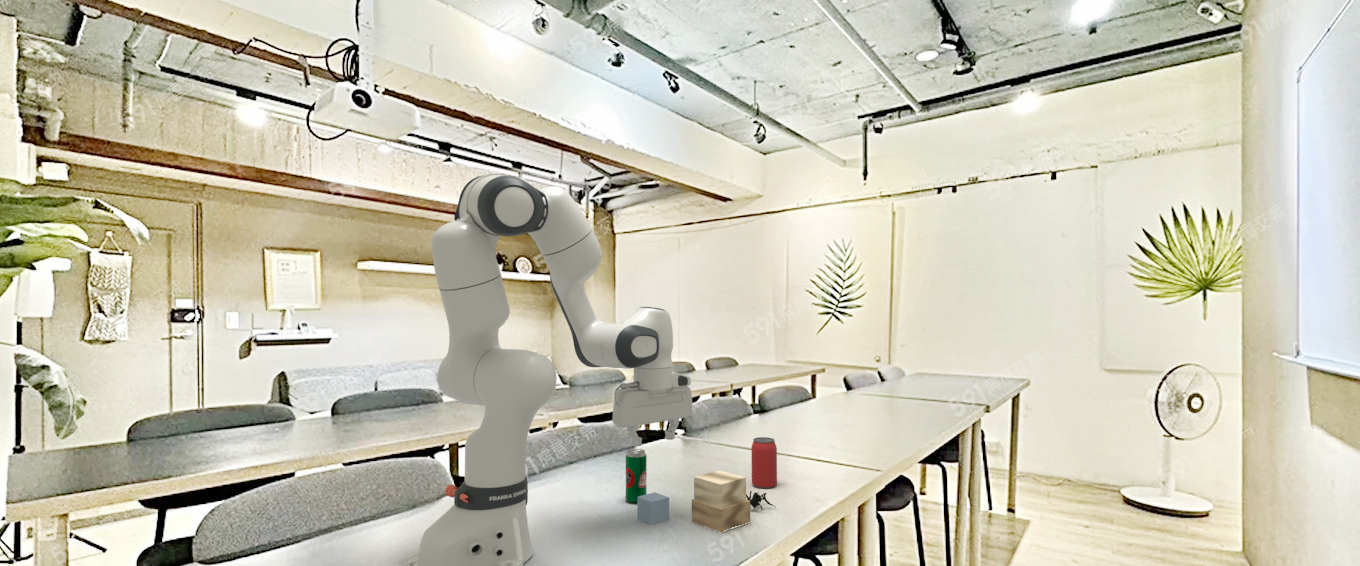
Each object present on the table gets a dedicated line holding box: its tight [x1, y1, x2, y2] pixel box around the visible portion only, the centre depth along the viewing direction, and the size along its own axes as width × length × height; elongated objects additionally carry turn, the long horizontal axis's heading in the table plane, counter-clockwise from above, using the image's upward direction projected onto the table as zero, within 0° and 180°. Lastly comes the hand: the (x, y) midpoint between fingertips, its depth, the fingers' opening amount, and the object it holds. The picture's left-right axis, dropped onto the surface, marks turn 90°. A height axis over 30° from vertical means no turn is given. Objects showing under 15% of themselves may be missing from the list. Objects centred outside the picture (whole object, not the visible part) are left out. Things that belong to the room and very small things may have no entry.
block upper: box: [693, 470, 747, 509], centre depth 134 cm, size 8×8×5 cm
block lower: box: [691, 498, 751, 532], centre depth 134 cm, size 9×9×5 cm
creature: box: [746, 487, 776, 511], centre depth 144 cm, size 8×5×8 cm
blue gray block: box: [636, 491, 670, 526], centre depth 136 cm, size 5×5×5 cm
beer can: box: [751, 436, 778, 489], centre depth 162 cm, size 7×7×12 cm
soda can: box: [625, 448, 648, 504], centre depth 149 cm, size 5×5×12 cm
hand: (653, 442), depth 137 cm, fingers open, 8 cm apart
